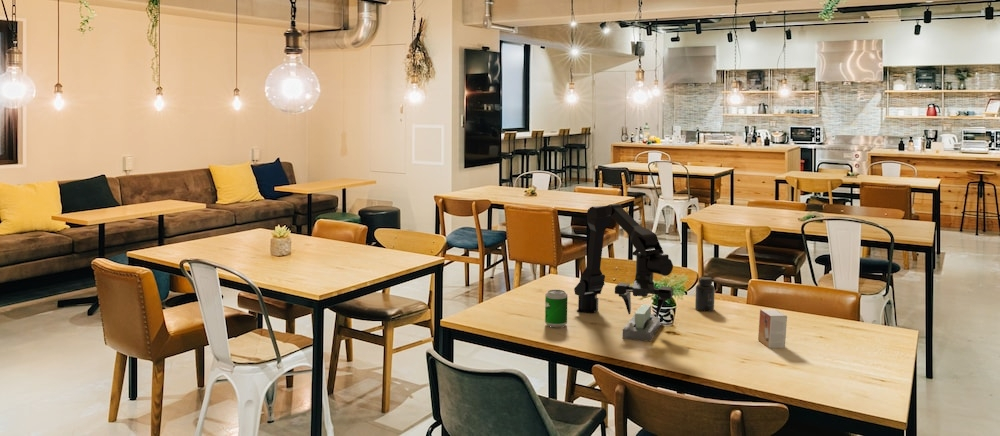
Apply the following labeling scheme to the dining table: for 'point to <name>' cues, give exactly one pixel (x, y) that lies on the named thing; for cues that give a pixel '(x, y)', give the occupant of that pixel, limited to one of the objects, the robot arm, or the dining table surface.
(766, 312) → the small box
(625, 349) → the dining table surface
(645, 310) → the staple
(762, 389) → the dining table surface
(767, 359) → the dining table surface
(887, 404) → the dining table surface
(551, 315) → the soda can
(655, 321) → the rail
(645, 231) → the robot arm
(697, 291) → the supplement bottle
